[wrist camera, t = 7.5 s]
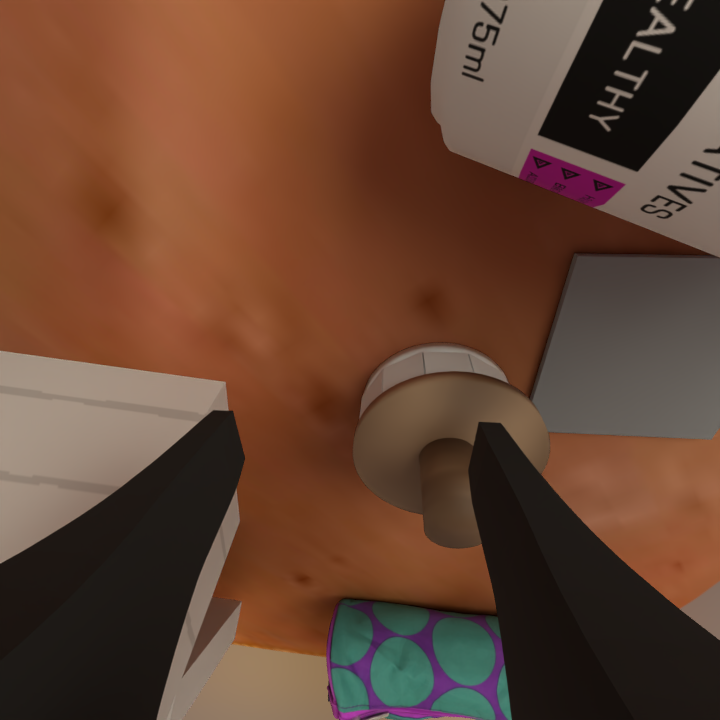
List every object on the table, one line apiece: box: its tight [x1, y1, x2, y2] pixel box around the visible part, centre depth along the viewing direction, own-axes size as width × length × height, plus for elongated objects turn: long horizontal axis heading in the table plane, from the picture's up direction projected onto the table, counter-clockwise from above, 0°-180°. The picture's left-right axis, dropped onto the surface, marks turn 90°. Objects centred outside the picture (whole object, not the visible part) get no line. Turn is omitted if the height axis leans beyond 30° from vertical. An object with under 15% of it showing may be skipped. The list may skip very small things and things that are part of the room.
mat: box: [530, 253, 720, 439], centre depth 20 cm, size 11×11×1 cm
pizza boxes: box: [0, 351, 242, 720], centre depth 23 cm, size 19×30×18 cm, turn 173°
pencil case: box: [327, 599, 512, 720], centre depth 35 cm, size 21×9×10 cm, turn 88°
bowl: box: [359, 342, 509, 419], centre depth 22 cm, size 9×9×4 cm
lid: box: [353, 371, 550, 548], centre depth 19 cm, size 10×10×5 cm
